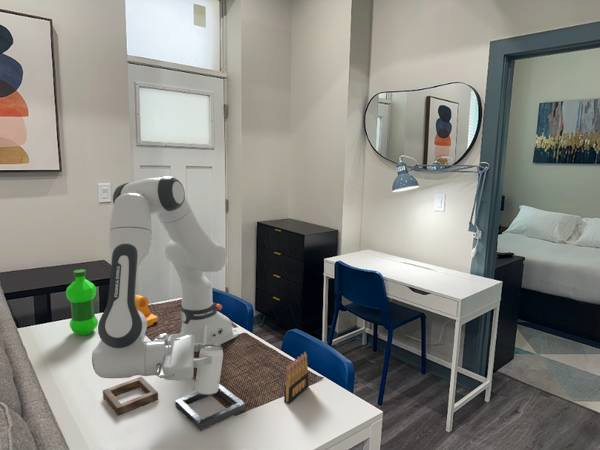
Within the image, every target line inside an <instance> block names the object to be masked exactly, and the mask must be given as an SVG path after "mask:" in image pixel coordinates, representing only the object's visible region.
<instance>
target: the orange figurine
mask: <svg viewBox="0 0 600 450" xmlns="http://www.w3.org/2000/svg"><path fill="white" fill-rule="evenodd" d="M135 304H136V308H137V310H139V311H140V312H142V313H143V315H144V316H145V318H146V321H147V328H148V327H150V326H153V325H154V323H156V322H159V321H158V317H159V316H158V315H155V314H153V313H152V312H151V310H150V308H149V307H150V306H148V305H149V299H148V298H147V297H145V296H143V295H140V294H136V296H135Z"/></svg>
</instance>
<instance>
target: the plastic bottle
mask: <svg viewBox="0 0 600 450" xmlns="http://www.w3.org/2000/svg"><path fill="white" fill-rule="evenodd" d="M72 274H73V277H74V279H75V280H74V281H72V282H71V284H69V285H68V286H67V287H66V290H65V296H66V298H67V301H69V302H70V310H71V311H70V312H71V319H70V322H69V327H70V329H71V331H72V332H73V333H74V334H76V335H78V336H87V335H90V334H92V332H93V331H94V330H95V329H96V328H98V324H99V322H98V321H99V320H98V318H97V317H96V315H95V314H96V313H95V302H94V298H96V295H97V291H98V290H97V287H96V286H95V284H94V283H93V282H91V281H89V280H88V279H86V276H87V270H86V269H83V268H82V269H81V268H80V269H76V270H73V273H72Z"/></svg>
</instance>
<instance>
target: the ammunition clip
mask: <svg viewBox="0 0 600 450" xmlns="http://www.w3.org/2000/svg"><path fill="white" fill-rule="evenodd" d="M308 365H309V364H308V355H307V352H306V351H304V352H303V353H301V355H300V356H297V358H295V359H294V361H293V360H292V361H291V362H290V363H288V364H287V366H286V367H287V368H286V376H285V385H284V392H283V393H284V395H283V396H284V399H283V400H284V401H283V402H284V403H286V404H292V403H293V402H294V401H295V400H296V399H297V398H298V397H299V396H300V395H302V394H303V393H304V392H305V391H306V390H308V388H309V372H308V369H309V368H308Z"/></svg>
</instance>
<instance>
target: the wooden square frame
mask: <svg viewBox="0 0 600 450" xmlns="http://www.w3.org/2000/svg"><path fill="white" fill-rule="evenodd" d="M136 389H140V390H141V391H142V392H143V393H144V394H143V395H139V396H137V397H135V398H131V399H128V400H127V401H124V402H120V401H119V400H118V398H117V397H118V396H120V395H124V394H126V393H129V392H131V391H134V390H136ZM102 398H103V400H104V401H105V402H106V403H107V405H108V406H109V407H110V409H111V410H112V411H113V412H114V413H115V415H116V416H117V417H120V416H123V415H125V414H127V413H128V414H129V413H130V412H133V411H135V410H137V409H141V408H143V407H145V406H147V405H150V404H153V403H155V402H157V401H159V392H158V391H157V390H156V389H155V388H154V387H153V386H152V385H151V384H150V383H149V382H148V381H147V380H146V379H145V378H144V376H142V375H140V376H139V377H136V378H134V379H130V380H128V381H125V382H122V383H120V384H116V385H114V386H110V387H108V388H105V389H102Z"/></svg>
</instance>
